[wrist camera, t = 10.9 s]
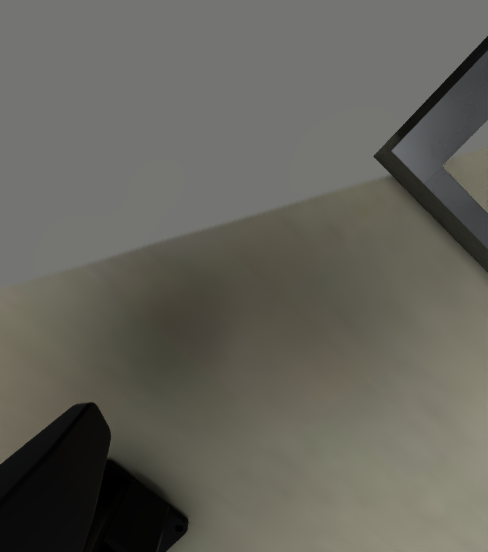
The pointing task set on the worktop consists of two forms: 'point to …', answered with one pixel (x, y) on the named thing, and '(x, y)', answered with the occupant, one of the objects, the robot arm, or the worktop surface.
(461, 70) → the grey copper flat frame
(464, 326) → the worktop surface
